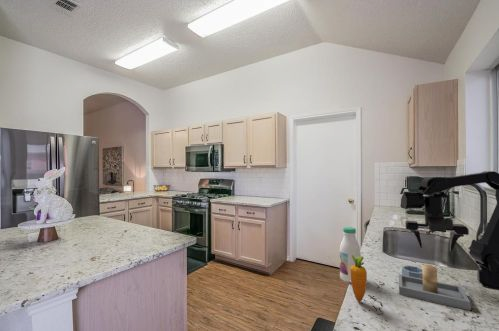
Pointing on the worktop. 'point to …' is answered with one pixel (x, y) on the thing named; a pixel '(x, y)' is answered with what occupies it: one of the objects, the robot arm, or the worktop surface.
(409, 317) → the worktop surface
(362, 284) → the carrot
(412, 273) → the blue-grey socket block
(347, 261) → the milk bottle
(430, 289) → the wooden pin
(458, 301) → the tray
